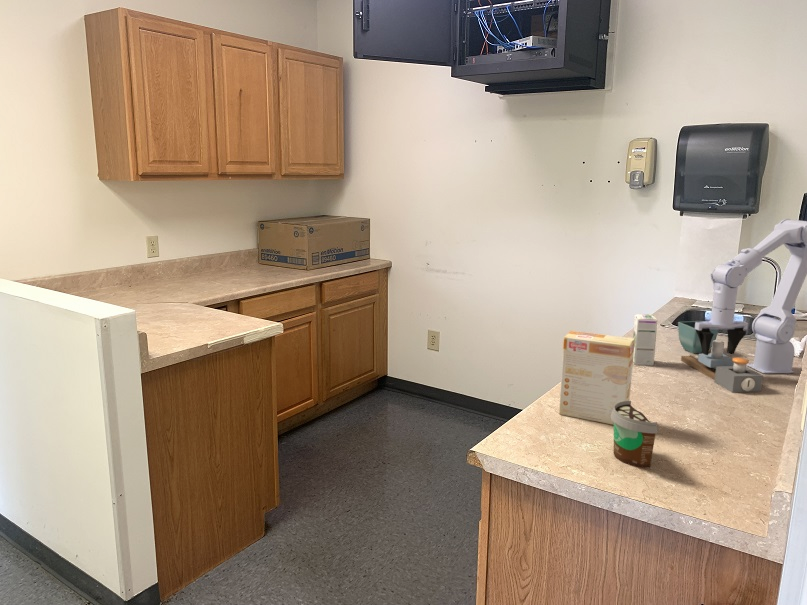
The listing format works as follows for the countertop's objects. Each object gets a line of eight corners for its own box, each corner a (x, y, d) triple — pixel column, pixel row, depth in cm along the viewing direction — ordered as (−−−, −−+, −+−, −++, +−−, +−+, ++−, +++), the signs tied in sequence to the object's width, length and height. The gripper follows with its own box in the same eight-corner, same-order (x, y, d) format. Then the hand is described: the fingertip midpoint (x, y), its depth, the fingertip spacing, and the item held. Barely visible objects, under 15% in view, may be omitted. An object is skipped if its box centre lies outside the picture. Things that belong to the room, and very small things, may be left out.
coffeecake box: (628, 416, 143) (635, 338, 139) (623, 427, 137) (631, 345, 133) (565, 404, 150) (570, 329, 146) (558, 414, 144) (563, 336, 140)
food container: (597, 444, 129) (601, 400, 127) (625, 443, 130) (629, 399, 127) (623, 472, 117) (627, 424, 115) (653, 471, 118) (658, 423, 115)
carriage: (720, 360, 176) (723, 338, 175) (733, 367, 170) (736, 344, 169) (698, 361, 176) (700, 339, 174) (710, 367, 170) (712, 345, 168)
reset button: (741, 369, 165) (742, 357, 164) (750, 374, 161) (751, 361, 160) (727, 370, 164) (729, 357, 164) (736, 374, 161) (738, 361, 160)
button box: (741, 381, 168) (743, 365, 167) (761, 392, 160) (764, 376, 159) (714, 381, 167) (716, 366, 166) (733, 392, 159) (735, 376, 158)
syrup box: (654, 366, 180) (658, 319, 177) (633, 364, 181) (637, 318, 178) (650, 360, 186) (655, 314, 183) (630, 359, 187) (634, 313, 184)
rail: (699, 360, 186) (700, 352, 186) (735, 380, 169) (737, 371, 168) (680, 360, 186) (681, 352, 185) (715, 380, 168) (716, 372, 168)
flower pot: (716, 354, 192) (720, 327, 190) (692, 356, 190) (696, 328, 188) (697, 346, 200) (700, 320, 199) (674, 348, 199) (677, 321, 197)
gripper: (738, 303, 174) (733, 349, 177) (691, 304, 172) (685, 350, 175) (755, 309, 167) (748, 356, 170) (705, 310, 165) (699, 357, 168)
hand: (717, 353), depth 172 cm, fingers open, 7 cm apart
